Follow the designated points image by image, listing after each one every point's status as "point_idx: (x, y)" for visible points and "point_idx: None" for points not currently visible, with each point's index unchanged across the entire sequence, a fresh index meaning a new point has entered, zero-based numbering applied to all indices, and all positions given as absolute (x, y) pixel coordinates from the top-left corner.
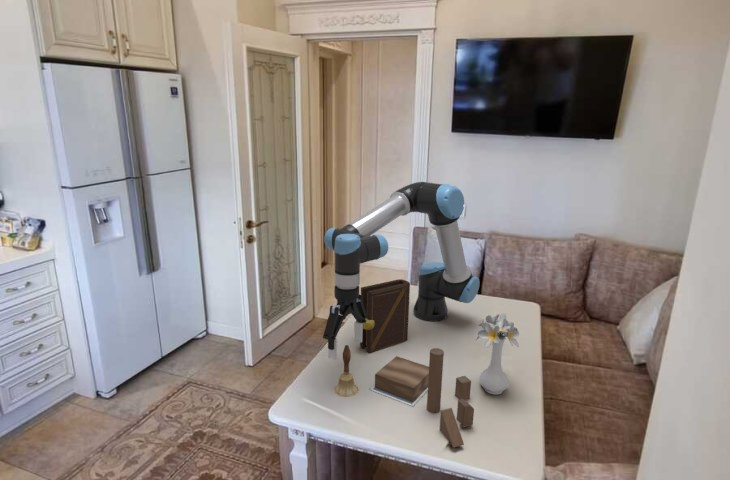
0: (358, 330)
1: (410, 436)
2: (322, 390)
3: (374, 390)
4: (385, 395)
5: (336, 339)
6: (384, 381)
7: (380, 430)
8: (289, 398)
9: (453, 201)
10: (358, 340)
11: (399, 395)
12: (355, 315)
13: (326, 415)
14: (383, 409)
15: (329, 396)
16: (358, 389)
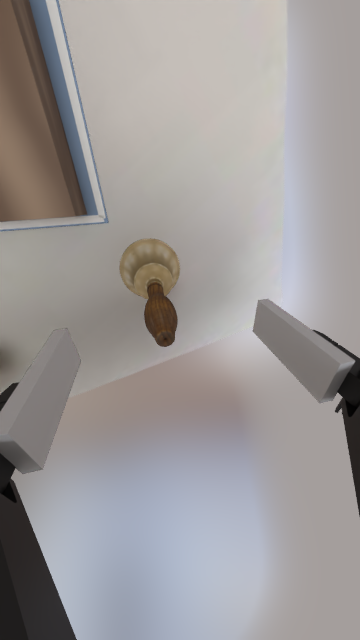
0: (49, 392)
1: None
2: (187, 305)
3: (99, 204)
4: (90, 151)
5: (348, 362)
6: (65, 166)
7: (242, 39)
8: (238, 326)
9: None
10: (70, 345)
11: (51, 86)
12: (35, 584)
13: (250, 237)
14: (151, 107)
15: (194, 280)
16: (130, 246)
